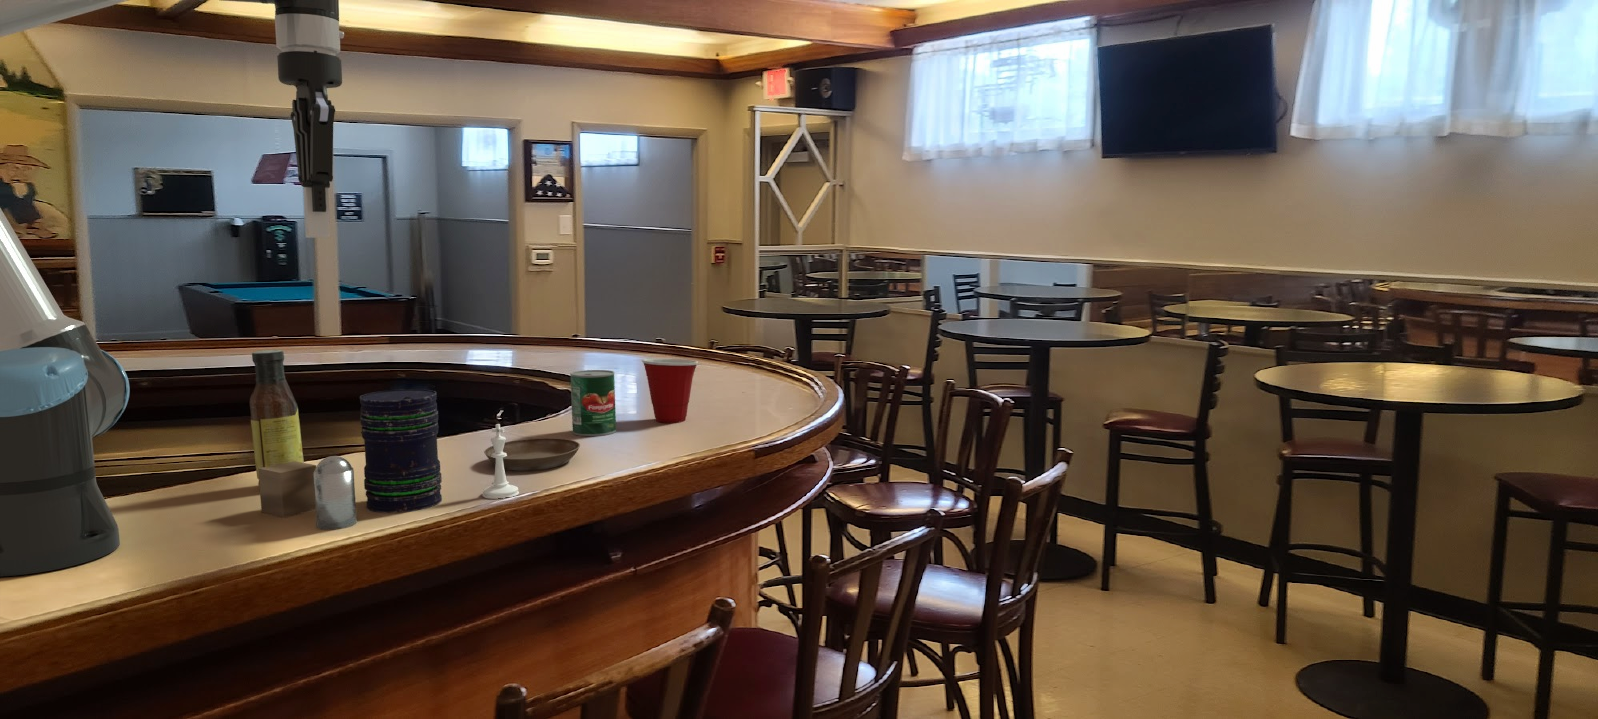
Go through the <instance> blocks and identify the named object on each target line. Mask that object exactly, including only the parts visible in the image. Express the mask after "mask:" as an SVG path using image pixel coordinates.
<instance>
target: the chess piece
mask: <svg viewBox="0 0 1598 719" xmlns="http://www.w3.org/2000/svg"><path fill="white" fill-rule="evenodd" d="M491 432H492V433H495V436H493V437H491V438H490V442H491V444H492V446H493V447H494V449H495V453H493V454H492V456H491V457H493V458H496V465H495V464H494V465H495V466H494V467H495V468H494V476H493V477H494V478H493V482H492V483H491V484H492V485H490V486H488V487H485V488H484V489H483V491H482V497H483V498H486V499H490V500H491V499H492V500H499V499H498V498H503V499H506V498H505V497H510V498H513V496H514V497H516V496H518V495H519V494H520V492H519V487H518V486H516V485H513V484H509V483H510V482H509V481H507V476H506V472H505V470H506V469H504V463H503V457H506V456H507V454H506V453H504V452H503V448H504V444H505V442H507V441H506V440H507V438H506V436H502V435H501V433H505V428H501V424H500V423H497V424H495V428H493V427H492V428H491Z"/></svg>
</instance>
